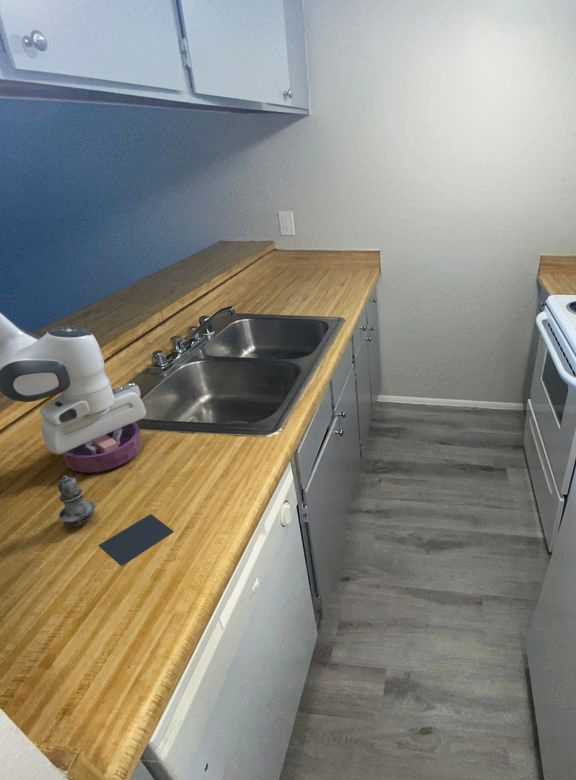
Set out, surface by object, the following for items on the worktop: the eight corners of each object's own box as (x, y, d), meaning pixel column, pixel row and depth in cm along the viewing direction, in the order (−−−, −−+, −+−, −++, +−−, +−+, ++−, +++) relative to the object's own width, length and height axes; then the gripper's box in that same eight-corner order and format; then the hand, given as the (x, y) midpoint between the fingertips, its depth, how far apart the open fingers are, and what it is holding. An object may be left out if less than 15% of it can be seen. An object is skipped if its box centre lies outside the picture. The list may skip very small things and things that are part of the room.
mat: (122, 568, 82) (121, 566, 82) (98, 547, 86) (98, 545, 86) (175, 533, 90) (174, 531, 90) (151, 515, 94) (150, 513, 93)
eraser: (121, 454, 109) (117, 442, 107) (107, 460, 107) (103, 448, 105) (107, 445, 112) (103, 433, 110) (94, 451, 110) (90, 438, 108)
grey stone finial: (106, 521, 92) (89, 472, 86) (74, 540, 87) (55, 490, 82) (89, 509, 95) (72, 461, 89) (57, 527, 90) (37, 478, 84)
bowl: (87, 485, 101) (81, 466, 99) (53, 458, 108) (47, 440, 106) (157, 450, 112) (152, 433, 110) (122, 428, 120) (117, 411, 118)
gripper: (129, 376, 112) (142, 425, 118) (30, 412, 97) (51, 466, 103) (144, 384, 109) (156, 434, 115) (44, 422, 94) (64, 477, 100)
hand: (106, 449), depth 109 cm, fingers closed on eraser, 3 cm apart
